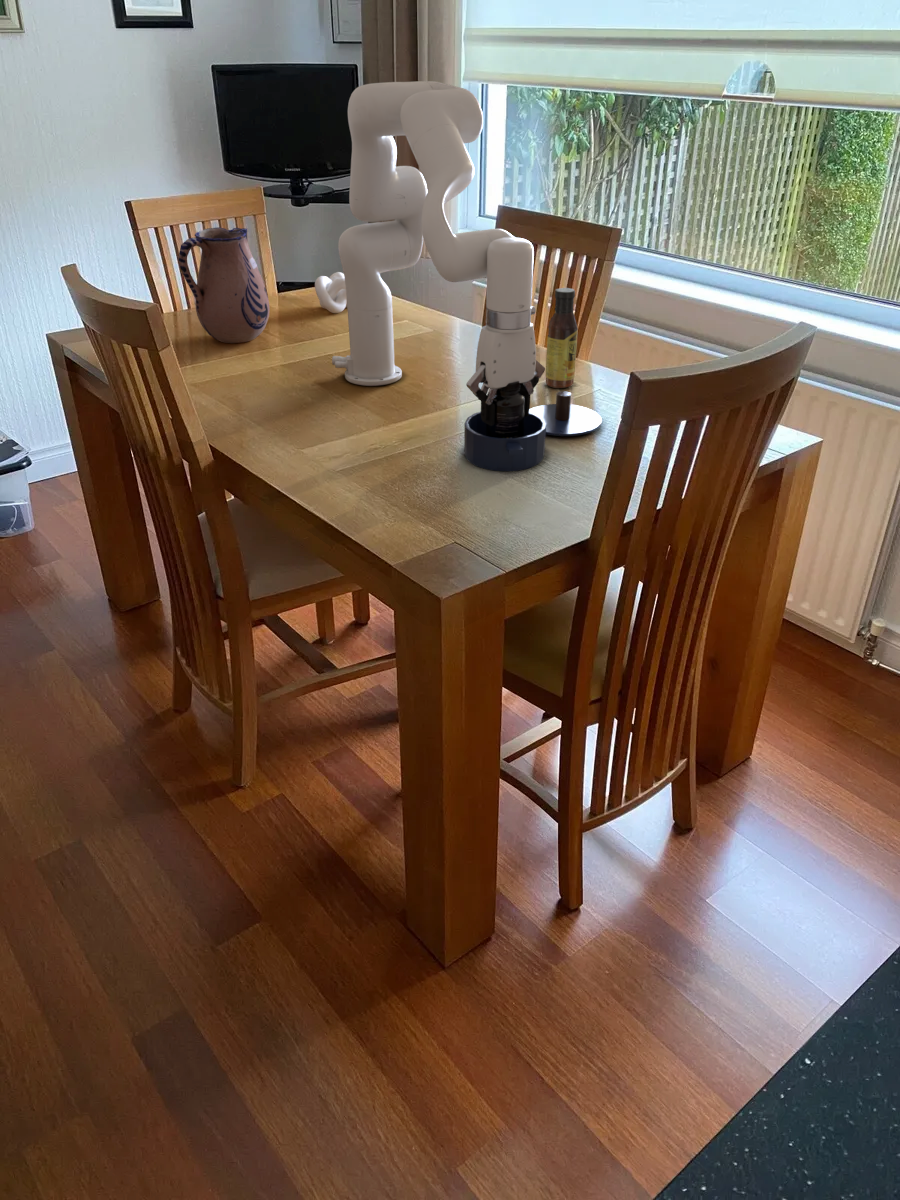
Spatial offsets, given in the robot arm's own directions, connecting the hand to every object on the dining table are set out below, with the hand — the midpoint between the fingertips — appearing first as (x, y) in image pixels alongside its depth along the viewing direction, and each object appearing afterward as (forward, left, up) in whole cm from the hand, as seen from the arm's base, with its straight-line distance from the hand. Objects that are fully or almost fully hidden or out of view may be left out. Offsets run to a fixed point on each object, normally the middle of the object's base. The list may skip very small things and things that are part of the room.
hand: (505, 417), depth 159 cm
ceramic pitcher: (-72, +60, -7) cm, 94 cm away
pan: (0, 0, -7) cm, 7 cm away
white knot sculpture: (-53, +89, -7) cm, 104 cm away
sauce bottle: (+9, +38, -7) cm, 40 cm away
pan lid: (+10, +16, -6) cm, 20 cm away
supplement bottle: (0, 0, -5) cm, 5 cm away
